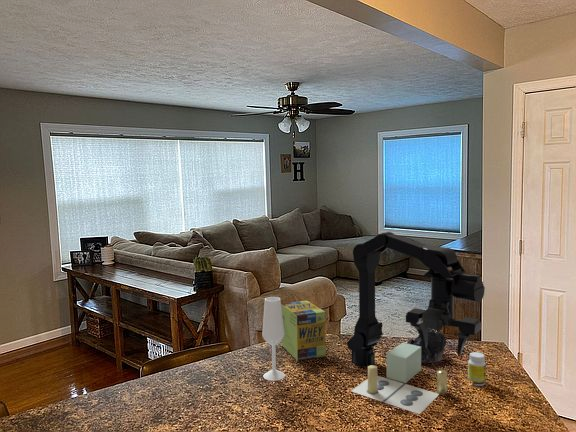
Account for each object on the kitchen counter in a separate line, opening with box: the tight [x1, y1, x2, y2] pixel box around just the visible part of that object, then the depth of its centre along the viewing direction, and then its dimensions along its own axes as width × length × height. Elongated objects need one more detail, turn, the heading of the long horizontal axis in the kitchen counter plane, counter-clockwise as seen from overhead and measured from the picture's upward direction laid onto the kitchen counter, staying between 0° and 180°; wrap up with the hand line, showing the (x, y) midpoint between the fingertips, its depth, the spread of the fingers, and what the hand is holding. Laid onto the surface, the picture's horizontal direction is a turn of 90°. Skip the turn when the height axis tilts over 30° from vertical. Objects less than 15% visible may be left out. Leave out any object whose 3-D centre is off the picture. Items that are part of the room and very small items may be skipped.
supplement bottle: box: [467, 351, 487, 387], centre depth 134 cm, size 5×5×8 cm
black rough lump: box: [406, 328, 448, 364], centre depth 153 cm, size 13×14×10 cm
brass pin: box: [436, 369, 448, 395], centre depth 126 cm, size 3×3×7 cm
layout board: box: [350, 365, 440, 415], centre depth 126 cm, size 20×13×8 cm, turn 51°
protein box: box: [281, 300, 326, 362], centre depth 160 cm, size 10×15×16 cm
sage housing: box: [385, 342, 422, 384], centre depth 138 cm, size 6×11×8 cm, turn 141°
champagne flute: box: [261, 296, 286, 382], centre depth 140 cm, size 7×7×24 cm
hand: (441, 351), depth 125 cm, fingers open, 9 cm apart
